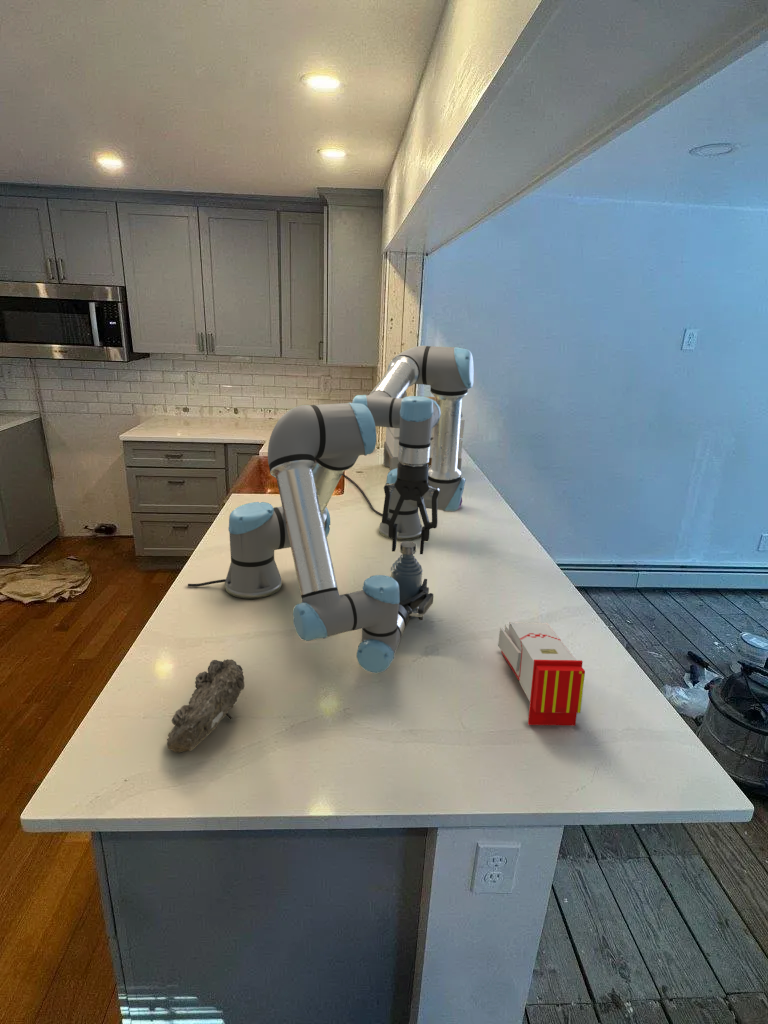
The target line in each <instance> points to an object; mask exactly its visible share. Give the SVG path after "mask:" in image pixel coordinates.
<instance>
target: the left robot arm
mask: <svg viewBox="0 0 768 1024" xmlns="http://www.w3.org/2000/svg"><path fill="white" fill-rule="evenodd" d="M376 446H377V426H375V422H374V419H373V416H372V414H371V412H370V410H369V409H368V407H367V406H365V405H364V404H360V403H352V402H344V403H343V402H342V403H341V402H340V403H325V404H323V403H322V404H301V405H297V406H295V407H292V408H290V409H289V410H287V411H286V412H285V413H283V415H282V416H281V417H279V419H278V420H277V422H276V423H275V425H274V427H273V429H272V431H271V433H270V436H269V439H268V446H267V463H268V468H269V474H270V475H271V476H272V477H274V478H275V479H276V483H277V488H278V493H279V498H280V502H281V503H280V504H281V506H275V507H274V506H273V505H272V503H269V502H265V501H261V502H259V501H254V502H248V503H244V504H242V505H239V506H237V507H236V508H234V509H233V510H232V511H231V512H230V513H229V516H228V518H229V519H228V527H227V528H228V533H229V550H230V551H229V552H230V564H229V568H228V571H227V573H226V578H224V579H217V580H210V581H205V582H200V583H187V587H192V588H193V587H204V586H208V585H214V584H220V583H221V584H222V583H224V585H225V592H227V594H228V595H230V596H232V597H235V598H238V599H245V600H254V599H262V598H267V597H269V596H273V595H275V593H277V592H279V590H281V588H282V577H281V574H280V571H279V568H278V566H277V563H276V560H275V551H278V550H282V549H291V554H292V559H293V564H294V568H295V574H296V580H297V583H298V588H299V592H300V598H301V602H300V603H297V604H296V605H294V607H293V610H292V617H293V626H294V629H295V633H296V634H297V636H298V637H299V638H300V639H301V640H302V641H306V642H309V641H314V640H320V639H326V638H327V637H328V638H329V637H333V636H336V635H339V634H343V633H347V632H352V631H356V630H361V641H360V643H359V645H358V647H357V651H356V660H357V663H358V664H359V666H360V667H361V668H362V669H363V670H365V671H366V672H369V673H372V674H379V673H383V672H385V671H386V670H387V669H389V667H391V664H392V662H393V661H394V659H395V654H396V652H397V650H398V647H399V644H400V643H401V639H402V637H403V635H404V632H405V630H406V628H407V625H408V622H409V620H410V619H413V618H415V617H416V618H417V619H418V621H423V620H424V615H425V614H426V613H427V611H428V610H429V609H430V607H431V606H432V605H433V603H434V595H435V594H434V593H432V592H430V588H429V586H428V578H424V579H423V580H422V586H421V588H420V593H419V594H417V595H416V596H414V597H412V598H411V599H406V600H405V601H403V602H402V601H400V593H399V584H398V582H397V581H396V580H394V579H393V578H392V577H390V576H389V575H384V574H375V575H370V576H369V577H367V578H365V580H364V581H363V585H362V589H361V590H357V591H353V592H347V593H343V594H340V591H339V587H338V583H337V577H336V574H335V573H336V572H335V569H334V563H333V560H332V555H331V551H330V547H329V541H328V536H329V534H330V530H331V527H330V526H331V515H330V511H329V509H328V507H327V506H328V504H329V502H330V500H331V498H332V496H333V494H334V492H335V490H336V488H337V486H338V484H339V482H340V481H341V478H342V476H343V475H342V474H344V472H345V471H348V470H349V469H351V468H353V466H354V465H355V464H356V462H357V461H358V458H359V456H363V457H364V456H365V457H366V456H368V455H371V454H372V453H373V452H374V451H375V450H376ZM418 606H419V607H418ZM416 607H417V609H416V610H415V611H412V610H413V609H415V608H416ZM412 616H414V617H413V618H412Z"/></svg>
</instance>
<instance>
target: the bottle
mask: <svg viewBox="0 0 768 1024" xmlns="http://www.w3.org/2000/svg"><path fill="white" fill-rule="evenodd" d="M423 572H424V570H423V568H422V565H421V564H420V562H419V561H418V559H417V558H416V557H415V556H414V554H412V555H405V554H402V553H401V555H400V556H399V557H398V558H397V559H396V560H395V561H394V562H393V563H392V565H391V567H390V576H389V577H392V578H393V579H394V580H396V581H397V582H398V584H399V593H400V601H402V602H403V601H405V600H406V599H411V598H412V597H414V596H416V595H417V594H419V593H420V588H421V586H422V584H423ZM418 607H419V606H418ZM416 609H417V607H416V608H415V609H413V610H412V611H415V610H416ZM414 618H415V617H414V616H412V618H411V619H414Z"/></svg>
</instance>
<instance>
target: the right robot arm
mask: <svg viewBox="0 0 768 1024" xmlns="http://www.w3.org/2000/svg"><path fill="white" fill-rule="evenodd" d="M474 370H475V367H474V358H473V354H472V351H471V350H470V349H468V348H461V347H458V346H435V345H433V346H429V345H417V346H413V347H411V348H407V349H406V350H403V351H402V352H400V353H398V354H397V355H395V356H394V357H393V358H392V359H391V361H390V362H389V363H388V365H387V371H386V372H385V374H384V375H383V376H382V378H381V379H380V380H379V382H378V383H377V384H376V385H375V387H374V388H373V389H372V391H370V393H369V394H368V395H367V394H356V395H355V396H354V397H353V399H352V402H351V403H360V404H364V405H365V406H367V407H368V409H369V410H370V412H371V414H372V416H373V419H374V422H375V427H380V428H386V427H391V428H400V431H399V447H398V461H400V462H399V463H398V467H397V468H396V469H393V470H391V471H390V470H389V472H388V473H387V475H386V482H385V484H384V486H383V491H384V502H383V507H382V508H383V509H382V513H381V512H379V511H378V510H376V509H375V508H374V507H373V505H372V503H371V501H370V500H369V498H368V496H367V495H366V494H365V492H364V491H363V489H362V488H361V487H360V486H359V485H358V484H357V483H356V482H355V481H354V480H352V479H351V478H350V477H349V476H347V475H346V474H344V473H343V474H342V476H343V477H344V478H346V479H347V480H348V481H350V482H351V483H352V484H353V485H354V486H355V487H356V488H357V489H358V490H359V491H360V493H361V494H362V496H363V497H364V498H365V500H366V502H367V503H368V505H369V508H371V510H372V511H373V512H374V513H376V514H377V515H380V516H381V522H379V526H378V533H379V534H380V535H381V536H382V537H385V538H387V539H389V540H392V541H391V552H396V550H397V541H411V540H415V539H418V538H420V543H419V546H420V547H419V555H424V551H425V542H429V540H430V532H431V530H432V529H437V528H438V521H439V519H438V511H443V512H456V511H457V509H458V508H459V505H460V501H461V497H462V498H463V493H464V488H465V484H466V478H465V477H462V470H461V471H460V470H459V469H458V468H457V462H458V448H459V434H460V421H461V418H462V417H461V412H462V406H463V398H464V397H466V396H467V394H468V391H469V389H472V388H473V386H474V376H475V371H474ZM413 385H423V386H430V390H429V392H430V394H431V395H432V396H433V397H435V401H434V400H432V399H430V398H428V397H429V396H422V395H421V396H420V395H417V396H416V395H408V396H409V397H404V398H401V397H402V396H403V394H404V393H405V391H406V392H407V390H408V388H410V387H412V386H413ZM432 428H433V443H432V462H431V465H430V466H429V465H428V464H427V463H428V462H429V457H430V440H431V430H432ZM427 509H428V510H429V509H430V510H431V521H430V519H429V515H428V510H427ZM459 509H460V508H459ZM459 509H458V510H459ZM419 514H420V515H419ZM420 517H421V518H420ZM421 520H422V524H423V525H422V524H421Z"/></svg>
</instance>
